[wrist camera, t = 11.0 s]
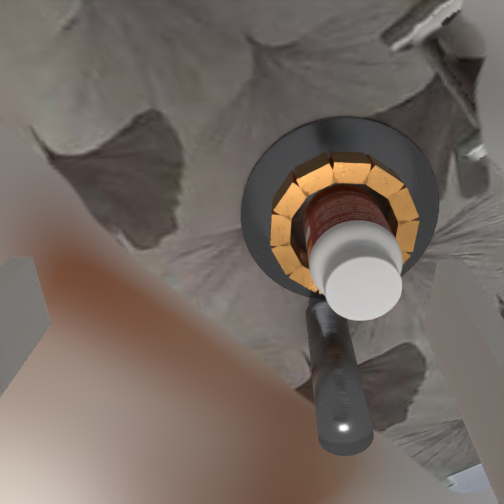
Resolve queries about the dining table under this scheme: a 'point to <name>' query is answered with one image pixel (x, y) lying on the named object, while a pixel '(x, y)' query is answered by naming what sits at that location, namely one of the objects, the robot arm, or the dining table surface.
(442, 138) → the dining table surface
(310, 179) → the round base with peg
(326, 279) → the pill bottle
